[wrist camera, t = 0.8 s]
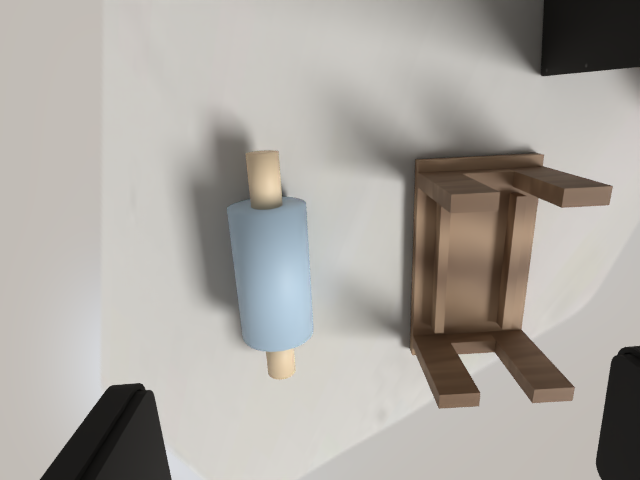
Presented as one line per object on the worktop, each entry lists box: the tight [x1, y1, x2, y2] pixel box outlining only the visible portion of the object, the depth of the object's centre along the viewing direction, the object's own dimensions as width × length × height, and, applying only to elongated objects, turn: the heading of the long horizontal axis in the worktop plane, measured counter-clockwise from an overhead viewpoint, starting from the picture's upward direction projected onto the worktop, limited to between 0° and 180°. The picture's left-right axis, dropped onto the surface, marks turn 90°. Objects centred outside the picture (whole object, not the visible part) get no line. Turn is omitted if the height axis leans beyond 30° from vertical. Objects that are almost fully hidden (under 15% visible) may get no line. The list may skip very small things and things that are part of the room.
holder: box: [410, 153, 613, 408], centre depth 32 cm, size 18×10×9 cm, turn 3°
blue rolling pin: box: [227, 150, 313, 379], centre depth 33 cm, size 19×6×6 cm, turn 3°
